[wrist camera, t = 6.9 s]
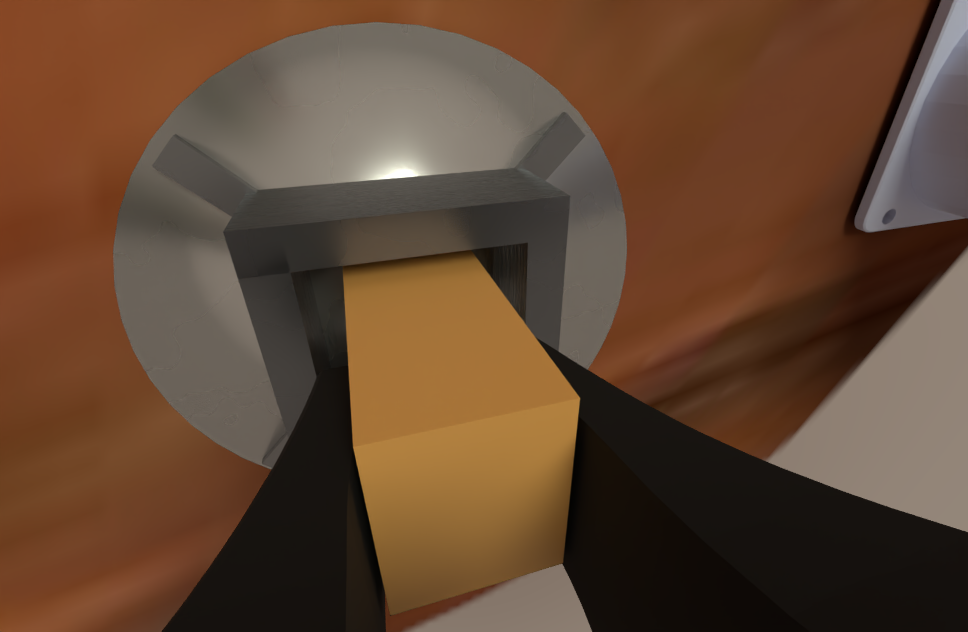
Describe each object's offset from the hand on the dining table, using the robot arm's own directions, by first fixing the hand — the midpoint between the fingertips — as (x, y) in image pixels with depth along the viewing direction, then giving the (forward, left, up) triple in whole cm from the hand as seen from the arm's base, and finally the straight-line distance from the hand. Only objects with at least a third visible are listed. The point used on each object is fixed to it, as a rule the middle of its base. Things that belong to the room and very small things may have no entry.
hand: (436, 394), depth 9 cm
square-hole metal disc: (0, 0, -4) cm, 4 cm away
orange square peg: (0, 0, -3) cm, 3 cm away
